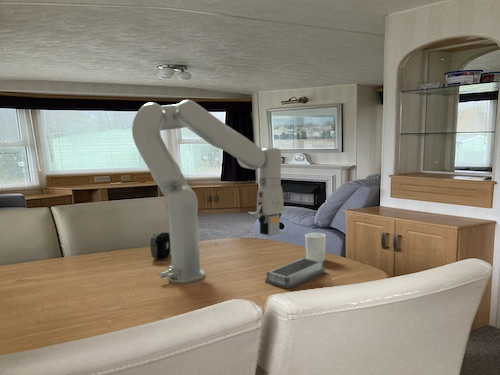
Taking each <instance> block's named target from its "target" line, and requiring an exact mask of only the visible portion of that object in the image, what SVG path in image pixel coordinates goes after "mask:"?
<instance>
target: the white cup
mask: <svg viewBox="0 0 500 375" xmlns="http://www.w3.org/2000/svg"><path fill="white" fill-rule="evenodd" d="M304 239H305V240H304V243H305V253H306V258H308V259H312V260H316V261H321V262H323V263H324V262H325V259H326V257H325V256H326V247H327V246H326V245H327V243H326V242H327V235H326V234H325V233H322V232H309V233H305V234H304Z"/></svg>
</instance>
